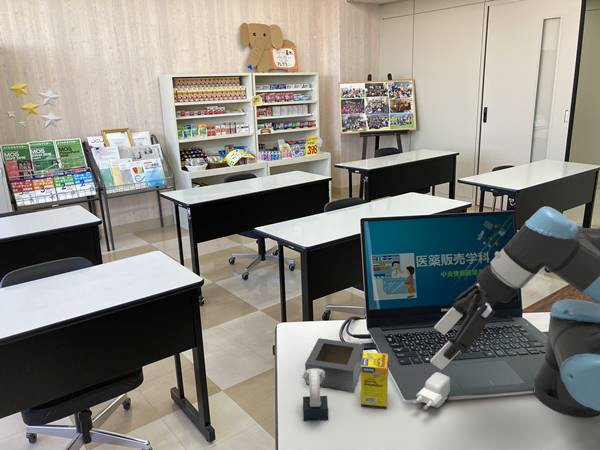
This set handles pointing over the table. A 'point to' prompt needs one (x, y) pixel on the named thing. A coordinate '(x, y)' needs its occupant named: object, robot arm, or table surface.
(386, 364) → the supplement box
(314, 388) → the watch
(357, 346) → the hollow block
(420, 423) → the table surface
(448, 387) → the power adapter
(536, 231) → the robot arm
